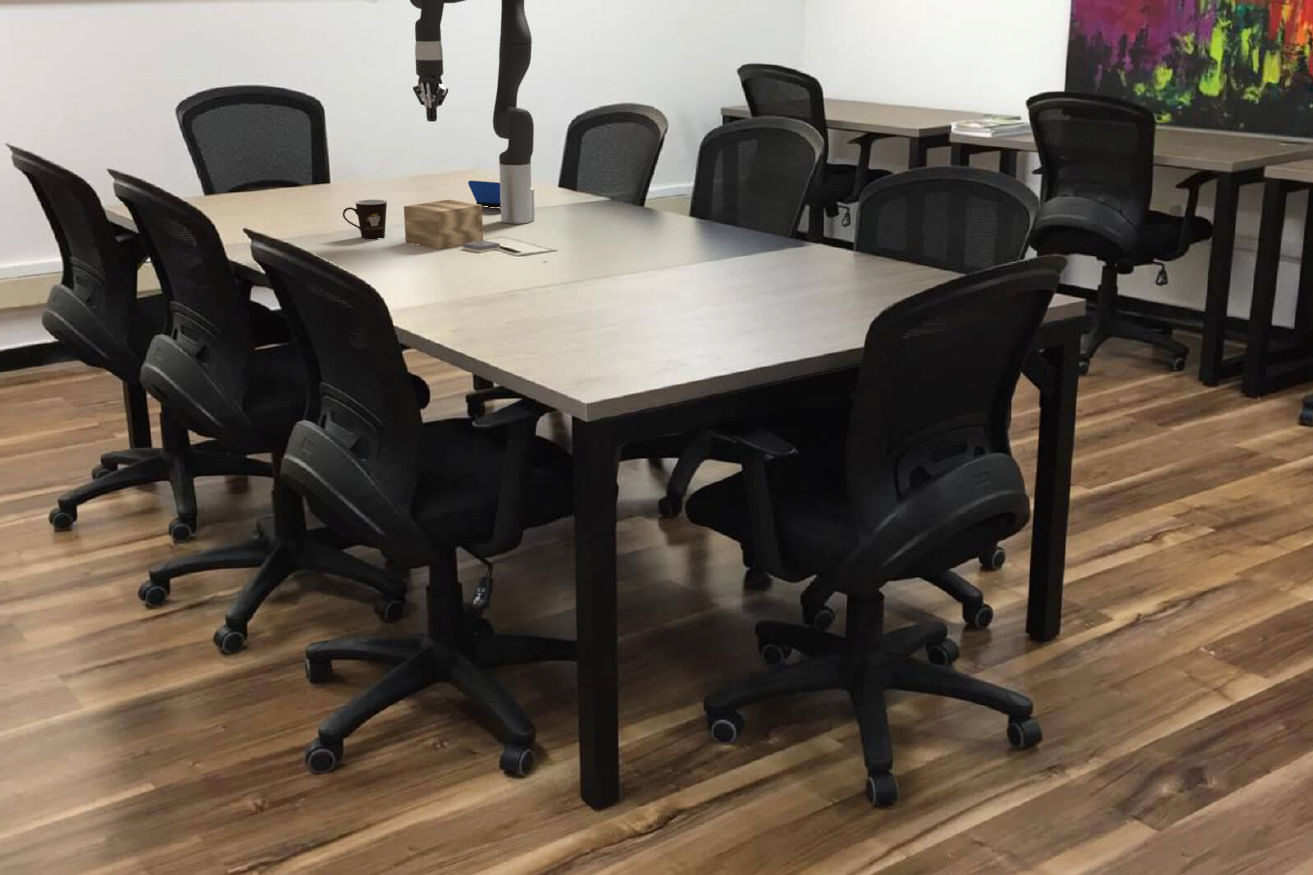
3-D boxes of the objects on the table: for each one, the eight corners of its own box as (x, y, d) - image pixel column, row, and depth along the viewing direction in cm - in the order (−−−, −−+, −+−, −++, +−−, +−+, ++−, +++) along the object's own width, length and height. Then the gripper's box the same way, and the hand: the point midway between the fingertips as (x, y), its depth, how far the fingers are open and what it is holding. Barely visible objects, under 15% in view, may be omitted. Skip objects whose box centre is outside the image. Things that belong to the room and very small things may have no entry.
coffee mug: (392, 235, 421) (390, 199, 418) (384, 240, 413) (382, 204, 410) (352, 234, 422) (350, 199, 419) (343, 239, 414) (340, 203, 411)
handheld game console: (533, 207, 469) (532, 178, 466) (508, 213, 458) (507, 183, 455) (493, 203, 477) (492, 174, 474) (467, 209, 466) (466, 179, 463)
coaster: (499, 243, 401) (499, 250, 402) (482, 240, 406) (482, 247, 406) (479, 246, 396) (479, 254, 397) (462, 243, 401) (463, 250, 401)
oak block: (449, 234, 421) (448, 199, 418) (483, 240, 413) (481, 204, 409) (405, 242, 410) (403, 206, 407) (439, 248, 401) (437, 212, 398)
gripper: (455, 58, 411) (457, 121, 417) (424, 56, 420) (426, 118, 425) (434, 59, 406) (437, 124, 411) (403, 57, 414) (406, 120, 420)
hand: (431, 121), depth 418 cm, fingers closed
